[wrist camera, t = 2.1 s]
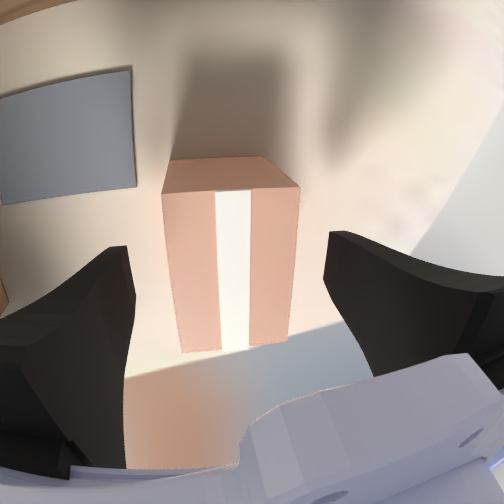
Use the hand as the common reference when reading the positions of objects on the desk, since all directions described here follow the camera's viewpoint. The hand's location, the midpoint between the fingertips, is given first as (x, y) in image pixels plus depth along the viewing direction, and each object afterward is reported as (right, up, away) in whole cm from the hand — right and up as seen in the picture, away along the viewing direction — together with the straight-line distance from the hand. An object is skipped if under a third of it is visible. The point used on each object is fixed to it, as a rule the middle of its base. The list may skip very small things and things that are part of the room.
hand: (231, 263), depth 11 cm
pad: (-8, +5, 0) cm, 9 cm away
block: (-1, +2, +4) cm, 4 cm away
